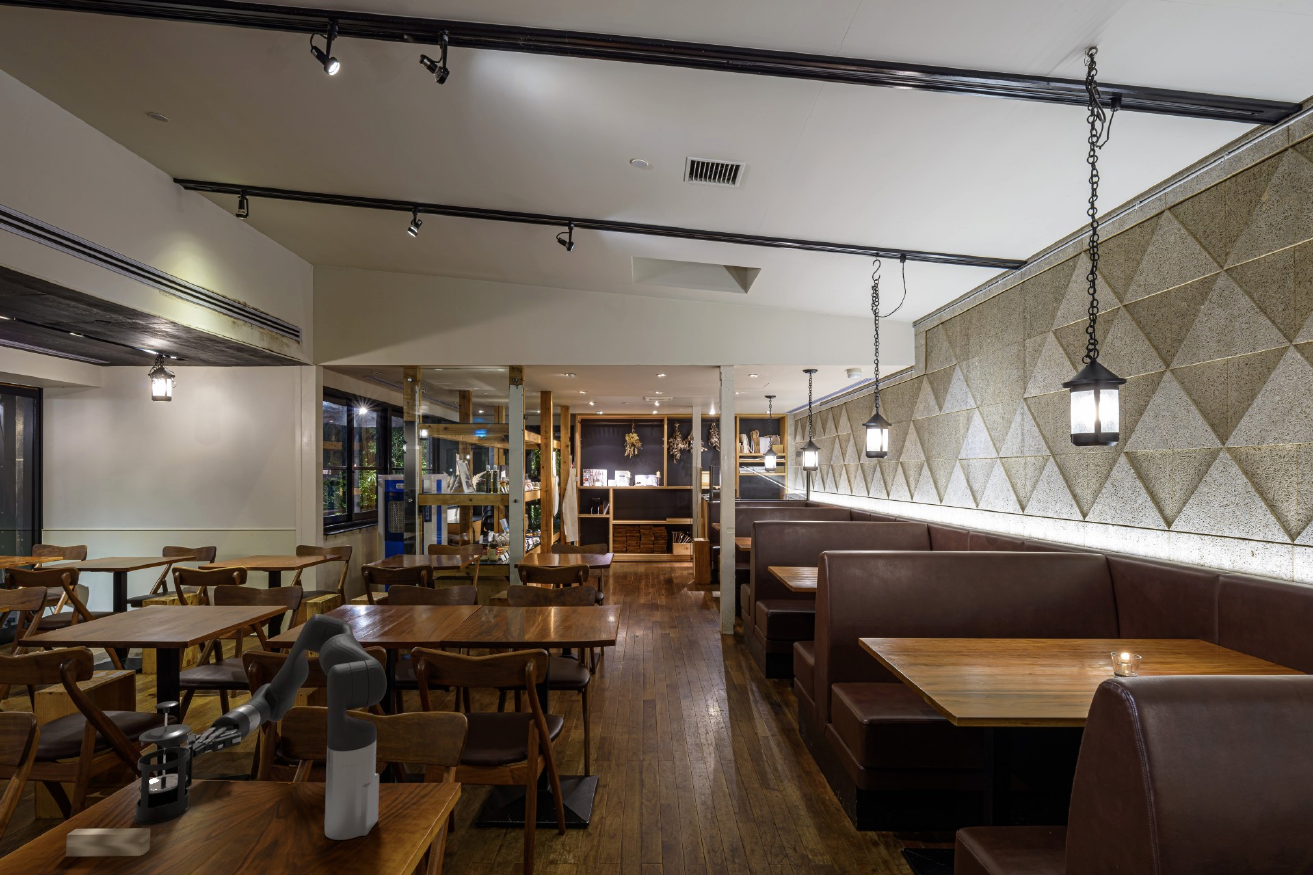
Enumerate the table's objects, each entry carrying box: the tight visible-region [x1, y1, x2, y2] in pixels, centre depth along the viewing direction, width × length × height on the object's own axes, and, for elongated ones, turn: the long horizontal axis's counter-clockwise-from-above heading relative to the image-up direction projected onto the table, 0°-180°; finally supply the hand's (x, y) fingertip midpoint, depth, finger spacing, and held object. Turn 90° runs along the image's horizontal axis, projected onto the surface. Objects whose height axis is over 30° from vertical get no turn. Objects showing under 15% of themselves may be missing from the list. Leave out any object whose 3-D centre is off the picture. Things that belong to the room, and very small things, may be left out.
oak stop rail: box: [65, 827, 151, 857], centre depth 126 cm, size 14×2×4 cm, turn 92°
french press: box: [133, 700, 194, 826], centre depth 142 cm, size 12×9×23 cm
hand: (189, 754), depth 149 cm, fingers closed
